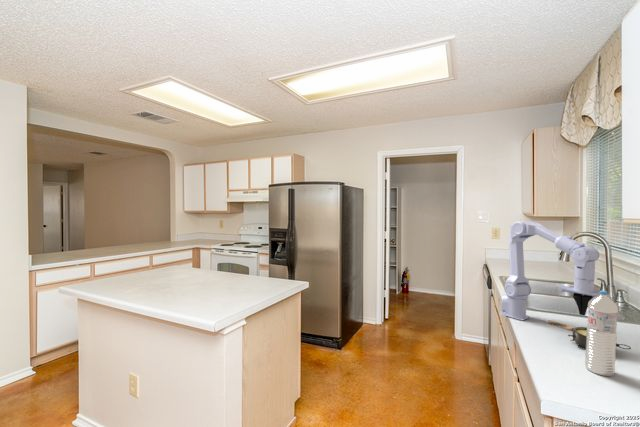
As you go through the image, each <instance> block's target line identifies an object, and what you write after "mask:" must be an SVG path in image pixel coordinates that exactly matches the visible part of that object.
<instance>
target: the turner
mask: <svg viewBox="0 0 640 427" xmlns="http://www.w3.org/2000/svg"><path fill="white" fill-rule="evenodd" d="M547 323H549V325H552V324H553V326H557V327H559V326H560V328H563V329H564V330H567V331H571V332H573V330H572V328H573V329H574V328H576V326H572V325H569V324H565V323H561V322H557V321H554V320H548V321H547Z"/></svg>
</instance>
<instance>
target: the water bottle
mask: <svg viewBox="0 0 640 427" xmlns="http://www.w3.org/2000/svg"><path fill="white" fill-rule="evenodd" d="M598 292H599V294H600V295H599V296H596V297H594V298H592V299H591V300H590V301H589V302H588V308H587V326H586V328H587V335H586V350H585V358H584V359H585V360H584V362H585V363H584V365H585V368H586V369H587V370H588V371H590V372H591V373H593V374H596V375H598V376H599V375H600V376H604V377H613V376H614V375H615V370H616V355H617V354H616V353H617V352H616V351H617V346H616V344H617V338H618V336H617V334H618V333H617V324H618V323H617V321H618V312H619V311H618V310H619V307H618V305H617V304H616V302H614V301H613V299H611V297H610V298H608V297H607V294H608V291H606V290H598Z"/></svg>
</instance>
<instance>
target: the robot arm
mask: <svg viewBox="0 0 640 427" xmlns="http://www.w3.org/2000/svg"><path fill="white" fill-rule="evenodd" d="M537 235H538V236H539V237H541V238H543V239H544V240H548V241H550V242H551V243H554V245H555V248H556V249H558V250H560V251H561V252H563V253H566V254H567V255H568V256H571V258H572V260H573V261H574V262H573V263H574V264H573V265H574V277H573V286H565V285H559V286H558V292H564V293H570V294H573V295H572V298H573V300H574V301H575V303H576V305H577V309H578V314H579V315H580V316H586V313H587V311H588V302H589V301H590V300H591V299H592V298H594V297H596V296H599V295H600V294H599V291H597V290H596V291H595V274H596V273H595V272H596V261H598V260H599V258H600V252H599V250H598V249H597V248H595V247H594V246H592V245H587V246H586V244H585V243H584V242H579V241H577V240H575V239H573V237H572V236H571V235H561V236H560V235H559V234H558V233H555V232H554V231H552V230H550V229H549V228H547V227H546V226H544V225H542V224H541V223H538V222H537V221H534V220H533V221H531V220H530V221H521V220H520V221H519V220H518V221H514V223H513V224H511V225H510V233H509V236H508V251H509V271H510V274H509V277H508V278H507V279H506V280H505V285H504V288H503V289H504V292H505V293H504V295H502V298H501V302H500V303H501V304H500V315H501V316H505V317H509V318H511V319H516V320H519V321H522V322H523V321H525V320H526V319H528V318H530V315H528V314H527V303H528V302H527V299H528V297H529V296H530V295H531V293H532V287H531V286H530V281H529V280H528V278H527V277H526V276H525V260H524V259H525V257H524V242H525V241H526V240H527V239H529V238H532V237H533V236H534V237H535V236H537ZM607 297H608V298H610V299H611V294H609V293H607Z"/></svg>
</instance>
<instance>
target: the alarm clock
mask: <svg viewBox="0 0 640 427" xmlns="http://www.w3.org/2000/svg"><path fill="white" fill-rule="evenodd" d="M575 327H576V326H575ZM572 330H573V331H572V334H567V336H568V337H572V339H571V340H570V342H571V341H573V342H575V344H577V345H580V346H583V347H585V348H586V335H587V327H583V326H577V327H576V328H574V329H573V328H572ZM621 346H625V348H624V347H621ZM617 347H618V348H621V349H623V350H631V349H632V348H631V346H630V345H627V344H620V343H616V348H617Z"/></svg>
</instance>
